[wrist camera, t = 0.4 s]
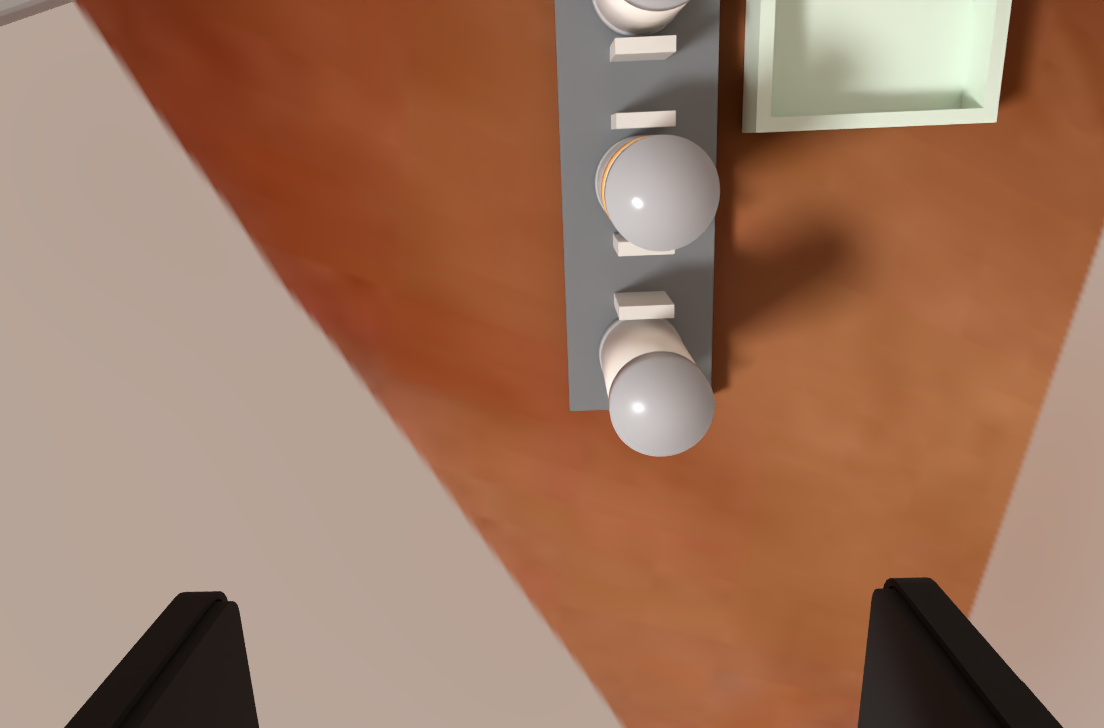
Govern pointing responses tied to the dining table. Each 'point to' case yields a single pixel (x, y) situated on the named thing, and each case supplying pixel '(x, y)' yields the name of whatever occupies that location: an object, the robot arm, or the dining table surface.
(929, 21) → the tray
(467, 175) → the dining table surface
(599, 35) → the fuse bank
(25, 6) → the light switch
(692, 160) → the cylinder
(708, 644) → the dining table surface
